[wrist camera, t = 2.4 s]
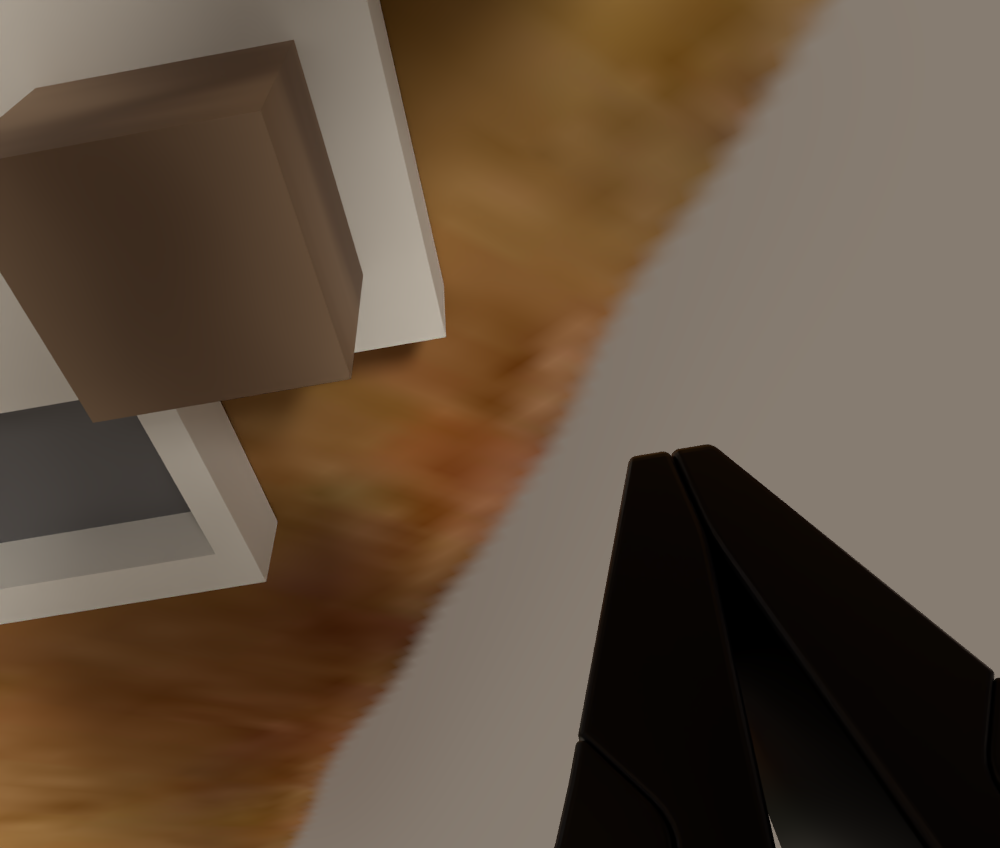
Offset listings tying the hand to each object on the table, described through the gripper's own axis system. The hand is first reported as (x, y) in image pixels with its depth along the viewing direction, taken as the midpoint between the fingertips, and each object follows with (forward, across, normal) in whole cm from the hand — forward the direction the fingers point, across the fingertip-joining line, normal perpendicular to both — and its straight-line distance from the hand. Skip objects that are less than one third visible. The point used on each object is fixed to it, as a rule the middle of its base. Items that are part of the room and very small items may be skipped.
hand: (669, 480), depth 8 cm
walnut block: (+10, +7, 0) cm, 13 cm away
